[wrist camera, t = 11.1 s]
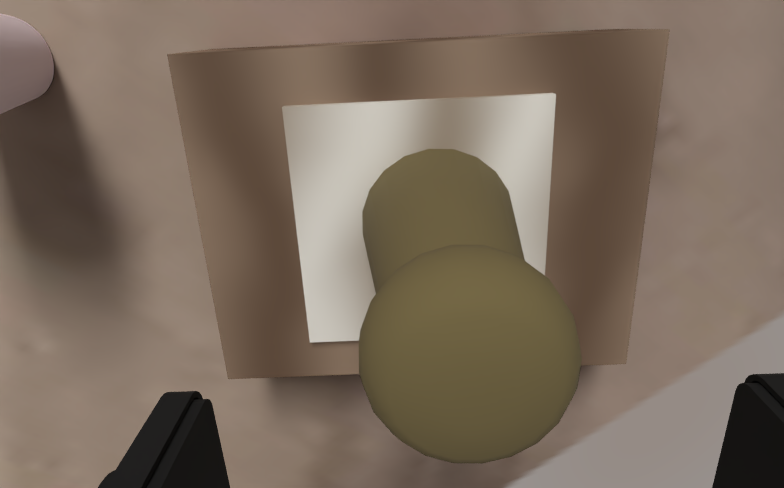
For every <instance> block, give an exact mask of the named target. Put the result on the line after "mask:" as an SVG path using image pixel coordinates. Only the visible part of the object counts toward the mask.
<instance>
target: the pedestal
mask: <svg viewBox="0 0 784 488" xmlns="http://www.w3.org/2000/svg"><path fill="white" fill-rule="evenodd" d="M669 32H670V29H608V30H588V31H568V32H548V33H528V34H508V35H488V36H468V37H448V38H428V39H408V40H388V41H368V42H348V43H328V44H308V45H288V46H268V47H248V48H228V49H209V50H201V51H193V52H184V53H176V54H168V55H167V56H168V61H169V67H170V72H171V77H172V83H173V88H174V93H175V99H176V104H177V109H178V115H179V120H180V125H181V131H182V136H183V141H184V147H185V152H186V157H187V163H188V168H189V173H190V179H191V184H192V189H193V195H194V200H195V205H196V211H197V216H198V221H199V226H200V232H201V237H202V242H203V248H204V253H205V258H206V264H207V269H208V274H209V280H210V285H211V290H212V296H213V301H214V306H215V312H216V317H217V322H218V328H219V333H220V338H221V344H222V349H223V354H224V360H225V365H226V370H227V376H228V379H243V378H269V377H295V376H322V375H348V374H359V336H360V330H361V327H362V324H363V321H364V319H365V316H366V313H367V310H368V307H369V305H370V302H371V300H372V299H373V298H374V296H375V295H376V292H375V287H374V283H373V278H372V274H371V269H370V265H369V261H368V256H367V252H366V247H365V243H364V238H363V226H362V211H363V208H364V205H365V202H366V199H367V196H368V193H369V190H370V188H371V187H372V186H373V184H374V183H375V182H376V181H377V179H378V178H379V177H380V175H381V174H382V173H383V171H384V170H385V169H387V168H388V167H390V166H391V165H393V164H394V163H395V162H397V161H398V160H400V159H401V158H403V157H404V156H407V155H410V154H413V153H416V152H420V151H423V150H426V149H455V150H458V151H461V152H464V153H467V154H469V155H472V156H475V157H478V158H479V159H480V160H481V161H483V162H484V163H485V164H487V165H488V166H489V167H491V168H492V169H493V170H494V171H496V173H497V174H498V176H499V177H500V179H501V180H502V182H503V183H504V185H505V186H506V188H507V189H508V191H509V195H510V199H511V203H512V207H513V211H514V215H515V220H516V224H517V229H518V233H519V237H520V242H521V246H522V250H523V255H524V259H525V261H526V262H527V263H528V264H530V265H531V266H533V267H534V268H535V269H537V270H538V271H539V272H541V273H542V274H543V275H545V276H546V277H548V278H549V279H550V281H551V282H552V284H553V286H554V287H555V289H556V290H557V292H558V293H559V295H560V296H561V298H562V299H563V301H564V302H565V304H566V305H567V307H568V308H569V310H570V311H571V313H572V314H573V316H574V320H575V324H576V329H577V334H578V338H579V343H580V349H581V357H582V361H581V366H584V365H611V364H626V360H627V352H628V345H629V337H630V330H631V322H632V314H633V307H634V299H635V291H636V284H637V276H638V268H639V261H640V253H641V246H642V238H643V230H644V223H645V215H646V207H647V200H648V192H649V184H650V177H651V169H652V162H653V154H654V146H655V139H656V131H657V123H658V116H659V108H660V100H661V93H662V85H663V78H664V70H665V62H666V55H667V47H668V39H669Z"/></svg>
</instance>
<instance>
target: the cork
mask: <svg viewBox="0 0 784 488" xmlns="http://www.w3.org/2000/svg"><path fill="white" fill-rule="evenodd" d="M362 226H363V238H364V243H365V247H366V252H367V256H368V261H369V265H370V269H371V274H372V278H373V283H374V287H375V292H376V295H375V296H374V298H373V299H372V300H371V302H370V305H369V307H368V310H367V313H366V316H365V319H364V321H363V324H362V327H361V330H360V336H359V374H360V377H361V380H362V384H363V386H364V389H365V391H366V394H367V397H368V399H369V402H370V404H371V407H372V409H373V412H374V413H375V414H376V415H377V416H378V418H379V419H380V420H381V421H382V422H383V423H384V424H385V426H386V427H387V428H388V429H389V430H390V431H391V432H392V433H393V434H394V435H395V436H396V437H397V438H398V439H399V440H401V441H402V442H404V443H405V444H407V445H409V446H410V447H412V448H414V449H415V450H417V451H419V452H420V453H422V454H424V455H425V456H429V457H433V458H436V459H440V460H444V461H448V462H451V463H486V462H490V461H495V460H499V459H503V458H507V457H512V456H513V455H515V454H517V453H519V452H521V451H523V450H525V449H527V448H529V447H531V446H533V445H534V444H536V443H538V442H539V441H540V440H541V439H542V438H543V437H544V436H545V435H546V434H547V433H549V432H550V431H551V430H552V429H553V428H554V427H555V426H556V425H557V424H558V423H559V421H560V419H561V418H562V416H563V414H564V412H565V410H566V409H567V407H568V405H569V403H570V401H571V400H572V398H573V395H574V393H575V391H576V389H577V386H578V380H579V374H580V367H581V361H582V357H581V349H580V343H579V338H578V334H577V329H576V324H575V320H574V316H573V314H572V313H571V311H570V310H569V308H568V307H567V305H566V304H565V302H564V301H563V299H562V298H561V296H560V295H559V293H558V292H557V290H556V289H555V287H554V286H553V284H552V282H551V281H550V279H549V278H548V277H546V276H545V275H543V274H542V273H541V272H539V271H538V270H537V269H535V268H534V267H533V266H531V265H530V264H528V263H527V262H526V261H525V259H524V255H523V250H522V246H521V242H520V237H519V233H518V229H517V224H516V220H515V215H514V211H513V207H512V203H511V199H510V195H509V191H508V189H507V188H506V186H505V185H504V183H503V182H502V180H501V179H500V177H499V176H498V174H497V173H496V171H494V170H493V169H492V168H491V167H489V166H488V165H487V164H485V163H484V162H483V161H481V160H480V159H479V158H478V157H475V156H472V155H469V154H467V153H464V152H461V151H458V150H455V149H426V150H423V151H420V152H416V153H413V154H410V155H407V156H404V157H403V158H401V159H400V160H398V161H397V162H395V163H394V164H393V165H391V166H390V167H388V168H387V169H385V170H384V171H383V173H382V174H381V175H380V177H379V178H378V179H377V181H376V182H375V183H374V184H373V186H372V187H371V188H370V190H369V193H368V196H367V199H366V202H365V205H364V208H363V211H362Z"/></svg>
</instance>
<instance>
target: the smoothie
mask: <svg viewBox="0 0 784 488" xmlns="http://www.w3.org/2000/svg"><path fill="white" fill-rule="evenodd" d="M53 75H54V62H53V57H52V54H51V51H50V49H49V47H48V45H47V43H46V41H45V40H44V38H43V37H42V36H41V35H40V34H39V32H38V31H37V30H36V29H34V28H33V27H32V26H31V25H29V24H28V23H26V22H25V21H23V20H21V19H19V18H16V17H13V16H9V15H4V14H0V114H2V113H4V112H6V111H8V110H11V109H13V108H15V107H18V106H20V105H22V104H24V103H27V102H29V101H31V100H34V99H36V98H38V97H40V96H41V95H43V94H44V93H45V92H46V91H47V89H48V88H49V86H50V84H51V82H52V79H53Z"/></svg>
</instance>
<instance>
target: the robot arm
mask: <svg viewBox="0 0 784 488" xmlns="http://www.w3.org/2000/svg"><path fill="white" fill-rule="evenodd" d="M98 488H230V485H229V480H228V476H227V471H226V466H225V462H224V457H223V452H222V448H221V443H220V439H219V434H218V429H217V425H216V420H215V415H214V411H213V406H212V403H211V401H210V400H209V399H203V398H202V395H201V394H200V393H199V392H197V391H188V392H167V393H164V394H163V396H162V397H161V398H160V400H159V401H158V403H157V405H156V406H155V408H154V409H153V411H152V413H151V414H150V416H149V417H148V419H147V421H146V422H145V424H144V425H143V427H142V429H141V430H140V432H139V433H138V435H137V437H136V438H135V440H134V441H133V443H132V445H131V446H130V448H129V449H128V451H127V453H126V454H125V456H124V458H123V459H122V461H121V462H120V464H119V466H118V467H117V469H116V470H115V471H113V472H111V473H109V474H108V475H107V476H106V477H105V478H104V480H103V481H102V482H101V484H100V485H99V487H98ZM712 488H784V373H781V374H753V375H750V376H748V377H747V378H746V380H745V382H744V383H742V384H739V385H738V386H737V389H736V391H735V395H734V400H733V404H732V408H731V412H730V416H729V420H728V425H727V429H726V433H725V437H724V442H723V446H722V449H721V454H720V458H719V462H718V466H717V471H716V475H715V479H714V483H713V487H712Z"/></svg>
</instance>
